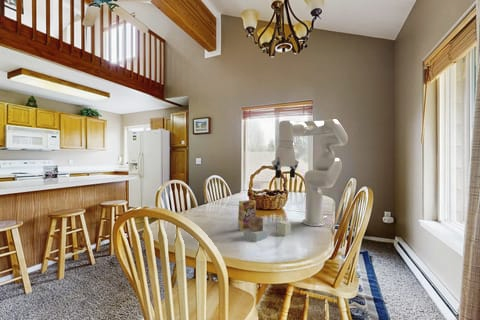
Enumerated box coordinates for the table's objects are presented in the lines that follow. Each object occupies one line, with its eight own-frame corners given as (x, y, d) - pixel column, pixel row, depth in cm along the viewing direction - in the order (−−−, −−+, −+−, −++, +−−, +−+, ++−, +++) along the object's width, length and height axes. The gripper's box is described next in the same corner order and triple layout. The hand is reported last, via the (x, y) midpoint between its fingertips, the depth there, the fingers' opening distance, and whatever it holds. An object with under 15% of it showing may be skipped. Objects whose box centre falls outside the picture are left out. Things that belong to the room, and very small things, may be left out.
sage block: (282, 231, 121) (282, 220, 121) (290, 233, 118) (291, 222, 118) (276, 233, 118) (277, 222, 118) (285, 236, 114) (285, 224, 114)
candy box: (242, 231, 120) (242, 202, 120) (237, 229, 124) (238, 200, 124) (255, 228, 125) (256, 200, 125) (251, 226, 129) (251, 199, 128)
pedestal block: (254, 234, 117) (254, 226, 117) (267, 238, 112) (267, 230, 112) (243, 238, 111) (243, 229, 111) (256, 242, 106) (256, 233, 106)
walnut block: (258, 227, 115) (258, 215, 115) (262, 230, 110) (263, 218, 110) (248, 228, 113) (249, 216, 113) (253, 231, 108) (253, 219, 108)
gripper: (293, 145, 128) (292, 176, 128) (268, 144, 119) (267, 177, 119) (303, 145, 121) (302, 177, 121) (277, 143, 113) (276, 178, 113)
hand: (285, 177), depth 120 cm, fingers open, 9 cm apart
